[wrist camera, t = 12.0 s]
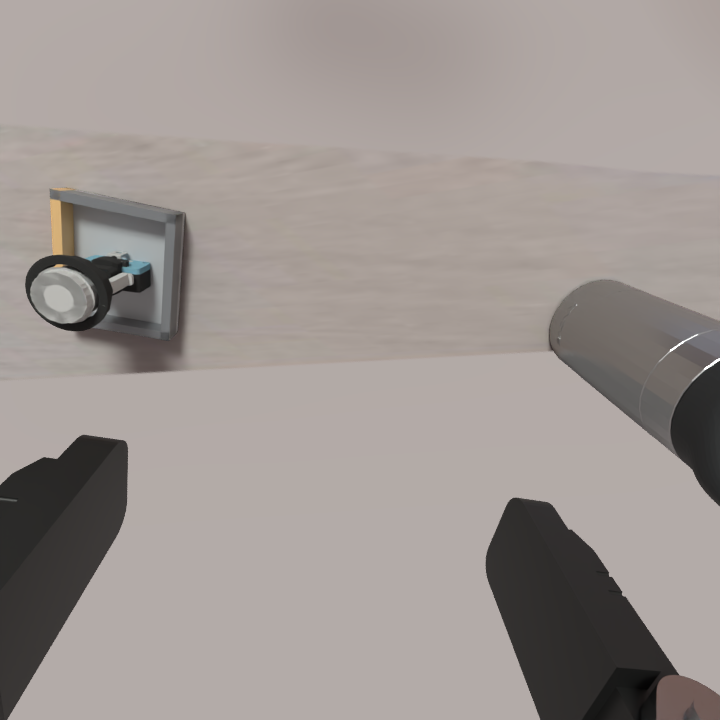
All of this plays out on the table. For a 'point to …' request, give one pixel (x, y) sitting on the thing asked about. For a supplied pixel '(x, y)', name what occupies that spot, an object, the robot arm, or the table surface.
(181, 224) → the tray
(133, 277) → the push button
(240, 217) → the table surface
